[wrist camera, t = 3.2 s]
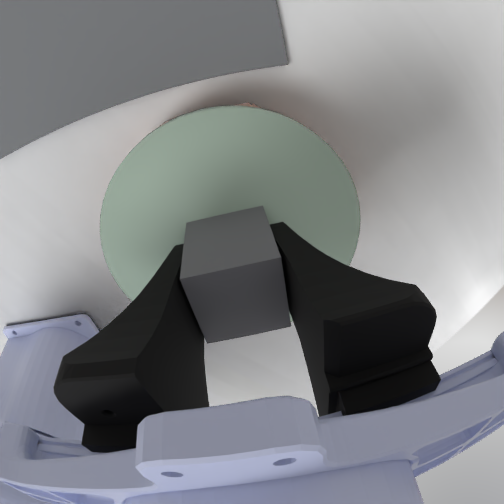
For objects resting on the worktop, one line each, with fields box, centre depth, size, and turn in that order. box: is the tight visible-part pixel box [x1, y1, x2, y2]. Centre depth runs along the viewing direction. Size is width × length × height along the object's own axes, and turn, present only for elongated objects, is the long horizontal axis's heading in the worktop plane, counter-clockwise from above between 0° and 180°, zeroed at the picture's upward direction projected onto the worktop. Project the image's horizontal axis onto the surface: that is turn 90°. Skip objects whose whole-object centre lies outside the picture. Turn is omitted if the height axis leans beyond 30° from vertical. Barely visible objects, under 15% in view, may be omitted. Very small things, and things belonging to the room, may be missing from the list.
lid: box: [100, 105, 360, 343], centre depth 12 cm, size 11×11×4 cm
